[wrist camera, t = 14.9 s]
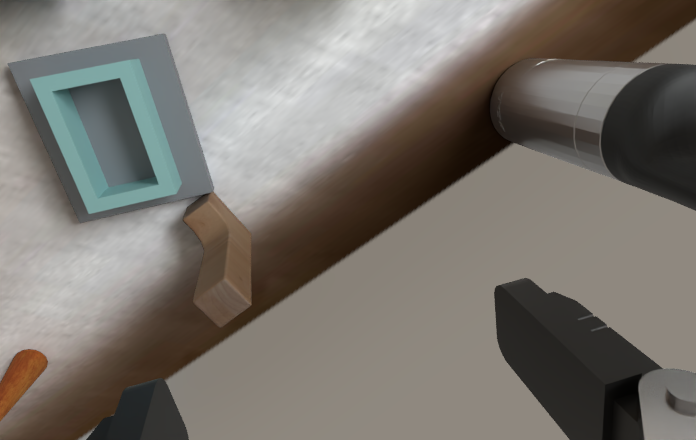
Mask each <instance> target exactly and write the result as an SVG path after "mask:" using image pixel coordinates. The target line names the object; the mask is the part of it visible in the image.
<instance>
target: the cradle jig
mask: <svg viewBox="0 0 696 440" xmlns="http://www.w3.org/2000/svg"><path fill="white" fill-rule="evenodd" d="M7 64H8V66H9V68H10V70H11V72H12V75H13V77H14V79H15V81H16V83H17V86H18V88H19V90H20V92H21V94H22V97H23V99H24V101H25V103H26V105H27V108H28V110H29V112H30V114H31V116H32V119H33V121H34V123H35V125H36V127H37V130H38V132H39V134H40V136H41V138H42V141H43V143H44V145H45V147H46V150H47V152H48V154H49V156H50V158H51V161H52V163H53V165H54V167H55V169H56V172H57V174H58V176H59V178H60V180H61V183H62V185H63V187H64V189H65V191H66V194H67V196H68V198H69V200H70V202H71V205H72V207H73V209H74V211H75V213H76V216H77V218H78V220H79V222H80V223H83V222H87V221H91V220H96V219H100V218H104V217H108V216H113V215H117V214H121V213H126V212H130V211H134V210H138V209H143V208H147V207H151V206H156V205H160V204H164V203H168V202H173V201H177V200H181V199H186V198H190V197H194V196H199V195H203V194H207V193H211V192H213V190H214V186H213V183H212V180H211V177H210V173H209V170H208V167H207V164H206V161H205V158H204V154H203V151H202V148H201V145H200V142H199V139H198V135H197V132H196V129H195V126H194V123H193V120H192V116H191V113H190V110H189V107H188V104H187V100H186V97H185V94H184V91H183V88H182V85H181V81H180V78H179V75H178V72H177V69H176V66H175V62H174V59H173V56H172V53H171V50H170V47H169V43H168V40H167V37H166V34H160V35H154V36H149V37H144V38H139V39H133V40H128V41H123V42H118V43H112V44H107V45H102V46H96V47H91V48H86V49H81V50H75V51H70V52H65V53H60V54H54V55H49V56H44V57H39V58H33V59H28V60H23V61H17V62H12V63H7Z"/></svg>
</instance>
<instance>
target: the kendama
mask: <svg viewBox="0 0 696 440" xmlns="http://www.w3.org/2000/svg"><path fill="white" fill-rule="evenodd" d="M47 363H48V361H47V359H46V357H45V356H44V355H43V354H42V353H41V352H39V351H36V350H30V349H28V350H22V351H21V352H19V353H17V354H16V356H15V357H14V358H13V360H12V362H11V364H10V366H9V368H8V370H7V371H6V373H5V375H4V377H3V379H2V381H1V383H0V421H1V420H2V419H3V417H4V416H5V415H6V414H7V413H8V412H9V410H10V409H11V408H12V407H13V406H14V405H15V404H16V402H17V401H18V400H19V399H20V398H21V397H22V395H23V394H24V393H25V392H26V391H27V390H28V388H29V387H30V386H31V385H32V384H33V383H34V381H35V380H36V379H37V378H38V377H39V376H40V374H41V373H42V372H43V371H44V370H45V368H46V367H47Z"/></svg>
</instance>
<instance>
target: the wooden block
mask: <svg viewBox="0 0 696 440" xmlns="http://www.w3.org/2000/svg"><path fill="white" fill-rule="evenodd" d="M183 221H184V222H185V223H186V224H187V225H188V226H189V227H190V228H191V229H192V230H193V231H194V233H195V234H196V235H197V237H198V238H199V240H200V241H201V243H202V246H203V249H204V254H203V259H202V263H201V268H200V272H199V276H198V281H197V285H196V290H195V294H194V298H193V303H194V304H195V305H196V306H197V307H198V308H199V309H200V310H201V311H202V312H203V313H204V314H205V315H206V316H207V317H209V318H210V319H211V320H212V321H213V322H214V323H215V324H216V325H217V326H218V327H220V328H221V327H223V326H224V325H225V324H227V323H228V322H229V321H231V320H232V319H233V318H235V317H236V316H238V315H239V314H240V313H242V312H243V311H244V310H246V309H247V308H248V307H250V306H251V233H250V232H249V231H248V230H247V229H246V227H245V226H244V225H243V224H242V223H241V222H240V221H239V220H238V219H237V218H236V216H235V215H234V214H233V213H232V212H231V211H230V210H229V209H228V208H227V206H226V205H225V204H224V203H223V202H222V201H221V200H220V199H219V198H218V197H217V195H216V194H215V193H214V192H211V193H207V194H205V195H203V196H202V197H201V198H199V199H198V200H197V201H195V202H194V203H193V204H191V205H190V206H189V207H188V208H187V210H186V213H185V215H184V218H183Z"/></svg>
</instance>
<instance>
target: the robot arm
mask: <svg viewBox="0 0 696 440" xmlns="http://www.w3.org/2000/svg"><path fill="white" fill-rule="evenodd" d="M490 115H491V120H492V123H493V125H494V127H495V129H496V130H497V132H498V133H499V134H500V135H501V136H502V137H503V138H505V139H507V140H509V141H511V142H514V143H517V144H519V145H522V146H525V147H527V148H530V149H532V150H535V151H538V152H541V153H543V154H546V155H549V156H552V157H555V158H557V159H560V160H563V161H566V162H568V163H571V164H574V165H577V166H579V167H582V168H585V169H588V170H591V171H593V172H596V173H599V174H602V175H605V176H608V177H611V178H613V179H616V180H619V181H621V182H624V183H626V184H629V185H632V186H635V187H638V188H640V189H643V190H645V191H648V192H650V193H653V194H656V195H658V196H661V197H664V198H666V199H669V200H672V201H674V202H677V203H679V204H681V205H684V206H686V207H688V208H691V209H693V210H696V65H688V64H687V65H686V64H664V63H640V62H639V63H635V62H611V61H587V60H563V59H539V58H531V59H526V60H522V61H520V62H518V63H516V64H514V65H513V66H511V67H510V68H509V69H507V70H506V71H505V73H504V74H503V75H502V76H501V77H500V79H499V80H498V82H497V83H496V85H495V88H494V90H493V92H492V96H491V101H490ZM494 296H495V312H496V328H497V339H498V344H499V347H500V350H501V352H502V354H503V356H504V358H505V360H506V361H507V363H508V364H509V365H510V367H511V368H512V369H513V370H514V371H515V373H516V374H517V375H518V376H519V377H520V379H521V380H522V381H523V383H524V384H525V385H526V386H527V387H528V388H529V390H530V391H531V392H532V394H533V395H534V396H535V397H536V399H537V400H538V401H539V402H540V403H541V405H542V406H543V407H544V408H545V410H546V411H547V412H548V413H549V415H550V416H551V417H552V418H553V419H554V421H555V422H556V423H557V424H558V426H559V427H560V428H561V429H562V431H563V432H564V433H565V434H566V435H567V437H568V438H569V439H570V440H696V373H693V372H690V371H686V370H680V369H663V368H661V367H660V366H659V365H658V364H656V363H655V362H654V361H653V360H651V359H650V358H649V357H647V356H646V355H645V354H644V353H642V352H641V351H640V350H638V349H637V348H636V347H634V346H633V345H632V344H631V343H629V342H628V341H627V340H626V339H624V338H623V337H622V336H620V335H619V334H618V333H617V332H615V331H614V330H613V329H611V328H610V327H609V328H608V327H607V325H606V324H605V323H604V322H603V321H601V320H600V319H599V318H597V317H594V316H593V314H592V313H591V312H590V311H589V310H587V309H586V308H585V307H583V306H582V305H581V304H580V303H578V302H577V301H575V300H573V299H570V298H568V297H566V296H563V295H561V294H558V293H556V292H552V293H548V294H547V293H546V292H544V291H543V290H542V289H541V288H539V287H538V286H537V285H536V284H535V283H534V282H532V281H531V280H530V279H527V278H524V279H520V280H517V281H513V282H509V283H506V284H502V285H499V286H496V288H495V292H494ZM86 440H189V439H188V434H187V430H186V427H185V424H184V422H183V420H182V417H181V415H180V413H179V411H178V408H177V406H176V404H175V402H174V399H173V397H172V395H171V392H170V390H169V388H168V386H167V384H166V382H165V381H164V380H163V379H162V378H159V379H156V380H152V381H149V382H145V383H141V384H138V385H134V386H131V387H127V388H126V389H125V390H124V391H123V393H122V396H121V399H120V401H119V404H118V407H117V409H116V412H115V415H114V416H111V417H107V418H104V419H103V420H102V421H101V422H100V424H99V425H98V426H97V427H96V428H95V430H94V431H93V432H92V433H91V435H90V436H89V437H88V438H87V439H86Z"/></svg>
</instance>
